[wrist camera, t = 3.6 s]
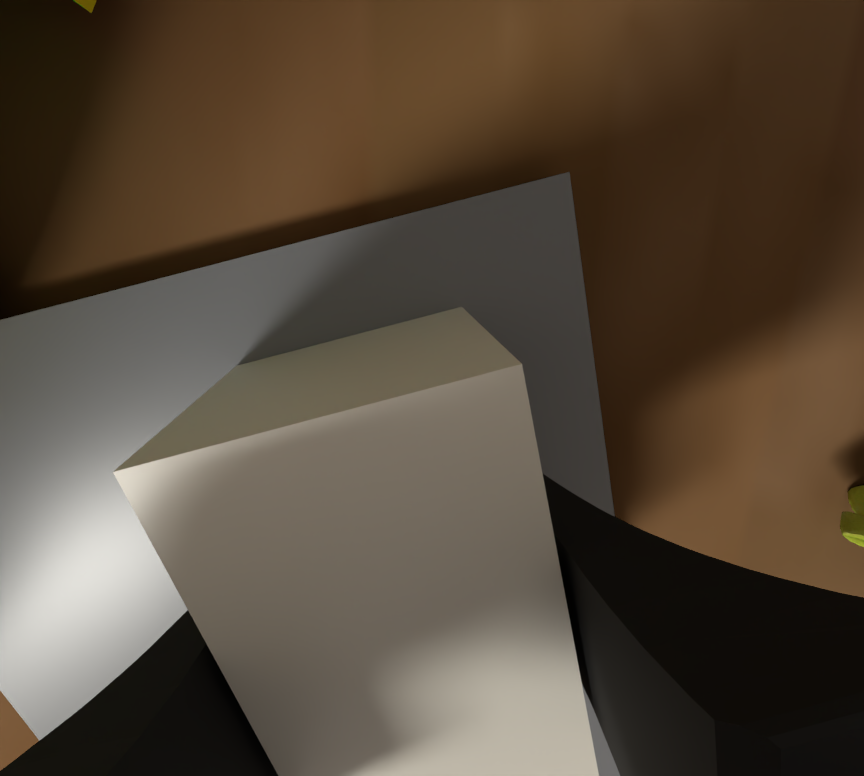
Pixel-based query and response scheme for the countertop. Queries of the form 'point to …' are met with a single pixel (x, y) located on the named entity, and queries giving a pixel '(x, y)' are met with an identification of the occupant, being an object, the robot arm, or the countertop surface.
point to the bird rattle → (854, 517)
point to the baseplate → (207, 364)
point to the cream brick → (375, 556)
